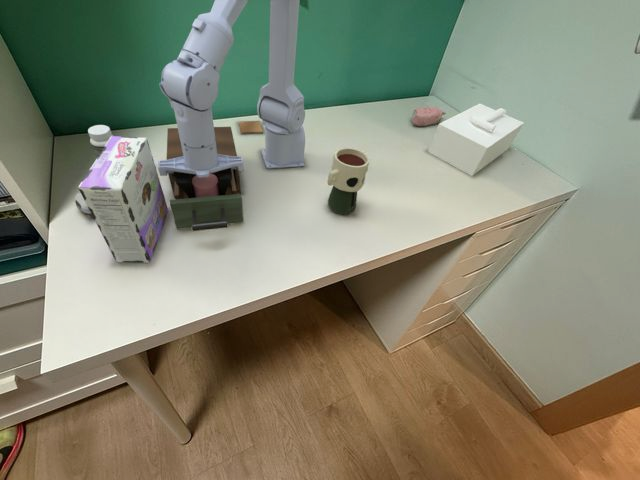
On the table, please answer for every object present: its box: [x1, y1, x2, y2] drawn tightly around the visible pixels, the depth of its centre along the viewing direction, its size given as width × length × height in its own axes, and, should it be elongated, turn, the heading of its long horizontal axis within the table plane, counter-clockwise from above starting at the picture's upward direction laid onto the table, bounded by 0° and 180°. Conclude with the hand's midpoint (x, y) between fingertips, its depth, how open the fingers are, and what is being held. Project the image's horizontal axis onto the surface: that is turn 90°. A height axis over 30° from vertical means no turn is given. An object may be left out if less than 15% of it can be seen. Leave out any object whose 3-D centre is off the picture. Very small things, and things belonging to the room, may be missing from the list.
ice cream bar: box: [411, 106, 446, 127], centre depth 107 cm, size 6×4×15 cm
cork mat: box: [238, 120, 264, 135], centre depth 92 cm, size 6×6×1 cm
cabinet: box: [166, 126, 242, 199], centre depth 72 cm, size 15×14×8 cm
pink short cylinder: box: [192, 174, 220, 198], centre depth 64 cm, size 5×5×6 cm
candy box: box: [77, 135, 169, 264], centre depth 55 cm, size 14×6×16 cm, turn 5°
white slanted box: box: [427, 103, 525, 177], centre depth 95 cm, size 14×25×11 cm, turn 134°
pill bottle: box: [87, 124, 114, 158], centre depth 71 cm, size 5×5×8 cm
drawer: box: [169, 169, 245, 232], centre depth 64 cm, size 18×12×6 cm
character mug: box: [327, 146, 370, 215], centre depth 69 cm, size 11×7×13 cm, turn 130°
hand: (208, 200), depth 66 cm, fingers closed on pink short cylinder, 5 cm apart
